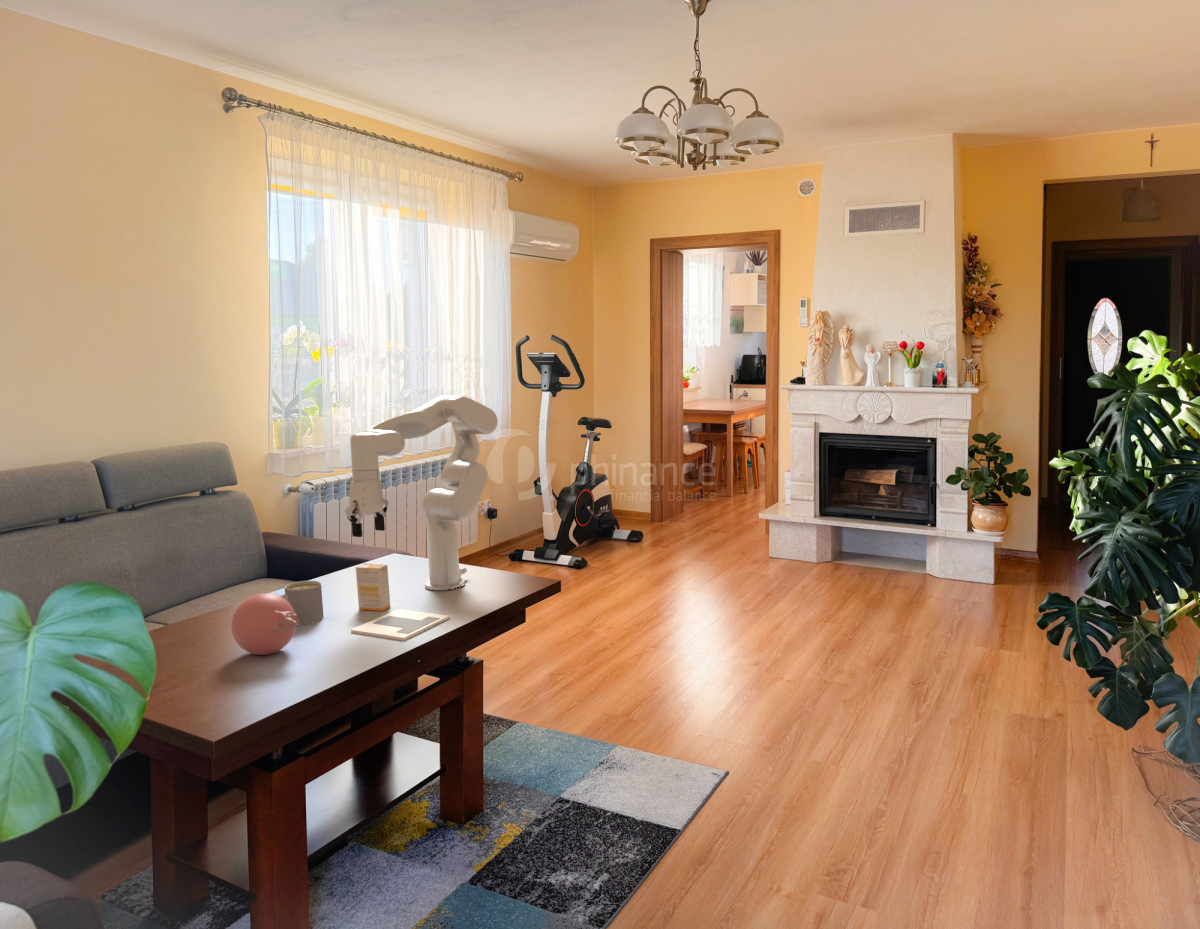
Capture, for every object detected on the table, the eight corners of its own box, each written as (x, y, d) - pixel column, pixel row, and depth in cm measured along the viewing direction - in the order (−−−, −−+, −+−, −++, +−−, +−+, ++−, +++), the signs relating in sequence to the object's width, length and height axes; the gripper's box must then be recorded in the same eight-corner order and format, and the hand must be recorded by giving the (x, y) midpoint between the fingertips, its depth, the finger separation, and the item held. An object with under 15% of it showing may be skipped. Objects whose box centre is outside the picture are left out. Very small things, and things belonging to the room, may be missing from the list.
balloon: (269, 671, 207) (264, 609, 205) (221, 656, 219) (216, 597, 217) (322, 652, 220) (318, 593, 218) (274, 639, 231) (269, 583, 229)
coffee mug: (320, 611, 255) (317, 578, 253) (326, 620, 246) (323, 586, 245) (272, 619, 249) (269, 585, 247) (276, 628, 240) (273, 593, 238)
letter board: (398, 611, 253) (398, 608, 253) (449, 618, 245) (449, 615, 245) (351, 632, 235) (350, 629, 235) (404, 640, 227) (403, 637, 227)
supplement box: (391, 607, 258) (388, 564, 256) (382, 611, 253) (379, 568, 251) (367, 605, 260) (364, 562, 258) (358, 609, 256) (355, 566, 254)
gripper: (375, 471, 261) (378, 527, 263) (334, 478, 245) (338, 538, 247) (395, 472, 257) (398, 528, 259) (355, 480, 242) (358, 540, 244)
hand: (368, 533), depth 253 cm, fingers open, 9 cm apart
